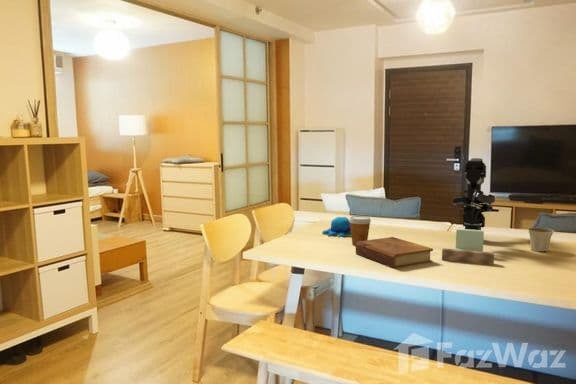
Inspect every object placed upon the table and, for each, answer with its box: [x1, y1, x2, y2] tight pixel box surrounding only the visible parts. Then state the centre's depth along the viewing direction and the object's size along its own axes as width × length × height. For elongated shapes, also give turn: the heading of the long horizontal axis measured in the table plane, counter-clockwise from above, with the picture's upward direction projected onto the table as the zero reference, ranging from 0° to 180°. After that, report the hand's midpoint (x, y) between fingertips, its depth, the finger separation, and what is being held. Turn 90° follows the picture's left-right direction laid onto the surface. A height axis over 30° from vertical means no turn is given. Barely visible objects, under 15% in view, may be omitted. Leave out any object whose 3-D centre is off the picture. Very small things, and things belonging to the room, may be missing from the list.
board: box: [441, 247, 495, 266], centre depth 172 cm, size 18×2×4 cm, turn 66°
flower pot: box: [527, 227, 555, 252], centre depth 188 cm, size 9×9×9 cm
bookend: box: [455, 228, 485, 252], centre depth 178 cm, size 12×10×10 cm
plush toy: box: [321, 216, 351, 238], centre depth 223 cm, size 17×17×8 cm
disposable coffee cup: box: [349, 215, 372, 247], centre depth 200 cm, size 10×10×12 cm
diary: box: [355, 236, 434, 269], centre depth 178 cm, size 23×19×6 cm
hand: (471, 224), depth 193 cm, fingers closed
